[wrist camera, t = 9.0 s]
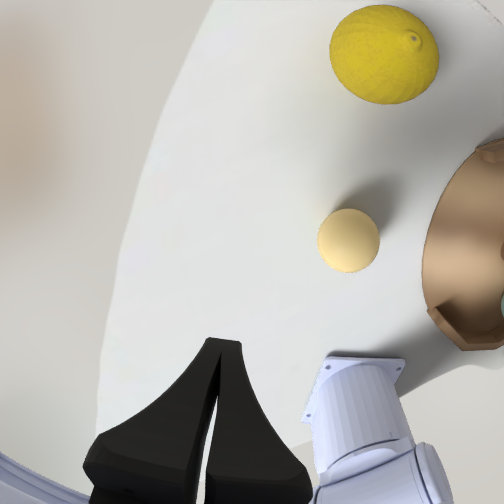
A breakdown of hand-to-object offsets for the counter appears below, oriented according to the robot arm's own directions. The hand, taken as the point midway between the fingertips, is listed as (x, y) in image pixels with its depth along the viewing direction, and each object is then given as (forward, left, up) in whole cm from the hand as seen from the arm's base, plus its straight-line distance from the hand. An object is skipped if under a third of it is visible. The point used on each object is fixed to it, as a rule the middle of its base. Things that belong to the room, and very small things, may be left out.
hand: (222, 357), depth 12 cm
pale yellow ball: (+4, -7, -10) cm, 13 cm away
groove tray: (+4, -23, -10) cm, 26 cm away
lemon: (+14, -6, -11) cm, 19 cm away
